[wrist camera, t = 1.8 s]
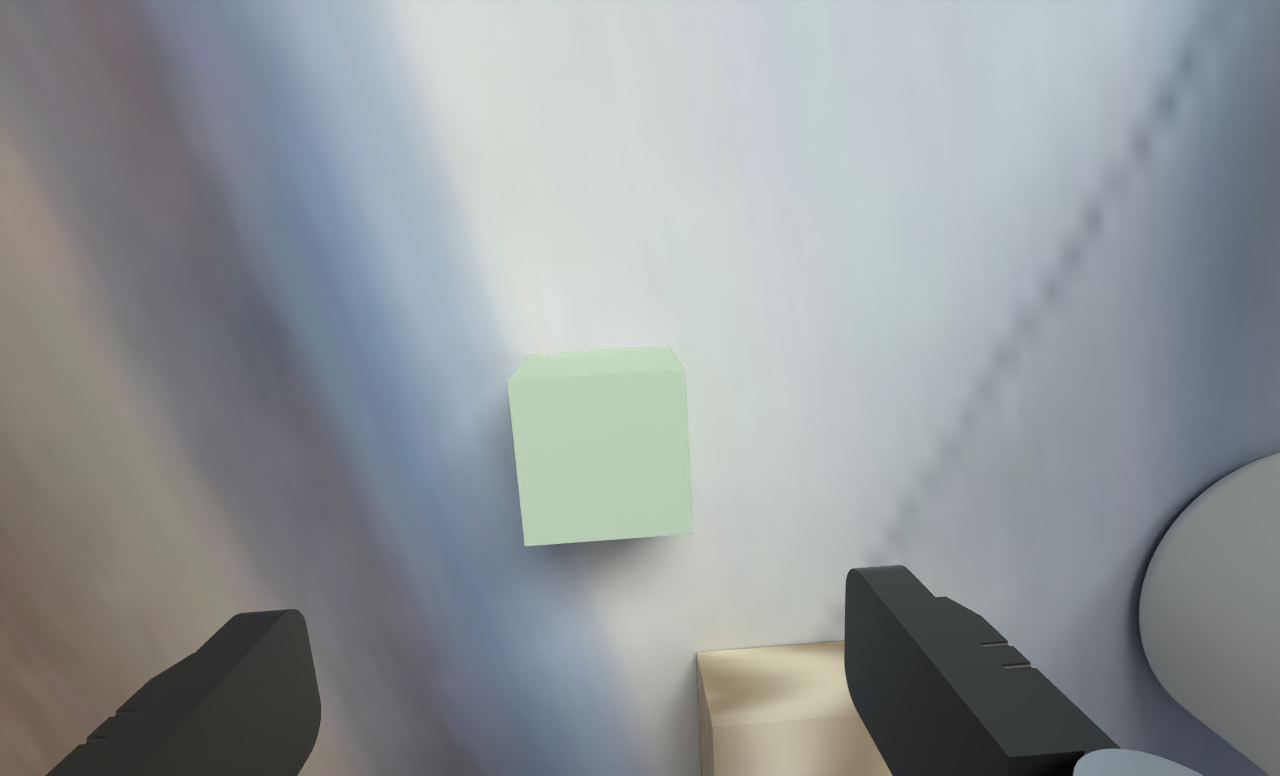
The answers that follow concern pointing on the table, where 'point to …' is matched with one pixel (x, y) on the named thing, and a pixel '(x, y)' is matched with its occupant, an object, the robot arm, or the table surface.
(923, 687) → the robot arm
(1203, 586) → the cylinder vase
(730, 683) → the base block
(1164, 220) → the table surface
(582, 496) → the cube
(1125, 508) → the table surface
